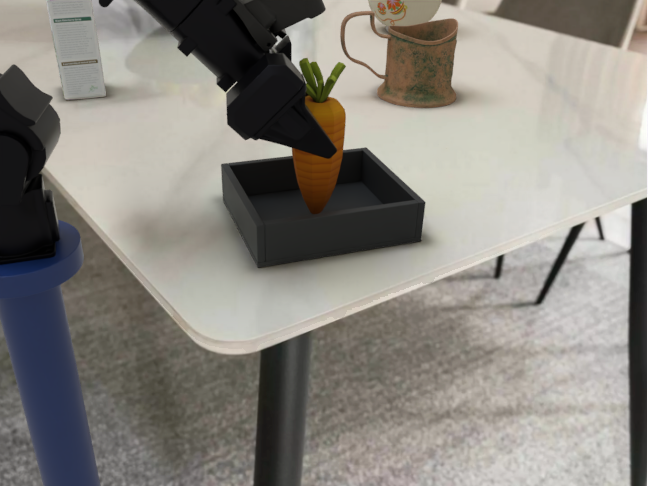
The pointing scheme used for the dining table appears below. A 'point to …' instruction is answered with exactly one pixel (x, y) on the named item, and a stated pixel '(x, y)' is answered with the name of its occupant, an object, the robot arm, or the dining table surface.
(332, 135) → the carrot
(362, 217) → the tray
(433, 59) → the mug
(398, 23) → the bowl
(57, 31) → the syrup box
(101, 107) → the dining table surface
